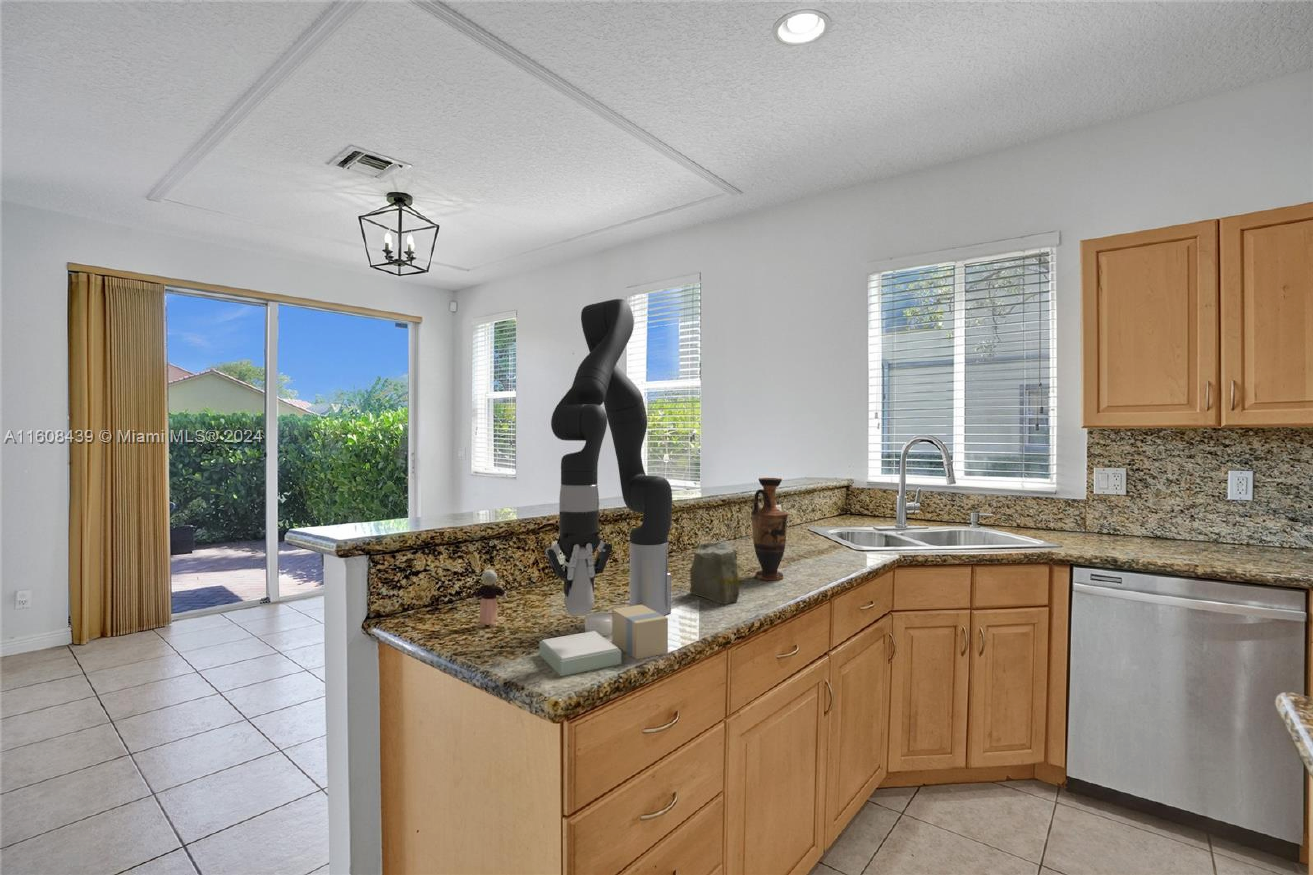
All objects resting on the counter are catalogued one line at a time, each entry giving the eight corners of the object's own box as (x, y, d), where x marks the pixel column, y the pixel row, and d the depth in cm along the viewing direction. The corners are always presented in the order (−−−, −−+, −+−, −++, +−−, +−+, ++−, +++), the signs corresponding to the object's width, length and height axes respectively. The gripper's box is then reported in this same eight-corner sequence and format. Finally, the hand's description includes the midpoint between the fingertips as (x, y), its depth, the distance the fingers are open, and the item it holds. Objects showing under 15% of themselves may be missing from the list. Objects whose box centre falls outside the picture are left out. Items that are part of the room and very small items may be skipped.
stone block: (725, 606, 154) (725, 546, 154) (687, 593, 166) (687, 538, 166) (754, 599, 160) (754, 542, 160) (716, 587, 172) (716, 534, 172)
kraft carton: (642, 637, 130) (642, 604, 130) (668, 653, 121) (668, 617, 121) (612, 643, 127) (611, 609, 127) (636, 660, 117) (636, 623, 117)
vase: (788, 574, 188) (788, 477, 188) (787, 582, 177) (787, 479, 177) (752, 572, 190) (752, 476, 190) (749, 580, 180) (750, 479, 180)
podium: (595, 644, 126) (595, 630, 126) (621, 663, 115) (621, 648, 115) (539, 654, 120) (539, 639, 120) (560, 676, 109) (560, 659, 109)
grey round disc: (589, 625, 137) (588, 612, 137) (616, 626, 137) (616, 613, 136) (581, 636, 131) (581, 623, 131) (611, 637, 130) (610, 624, 130)
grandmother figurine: (473, 630, 135) (472, 572, 135) (471, 625, 138) (471, 569, 138) (508, 626, 138) (508, 570, 138) (506, 621, 141) (506, 566, 141)
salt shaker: (596, 616, 116) (596, 548, 116) (566, 618, 114) (566, 549, 114) (591, 607, 121) (591, 542, 121) (562, 610, 120) (562, 543, 120)
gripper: (604, 503, 124) (604, 588, 124) (537, 507, 117) (537, 597, 117) (620, 507, 118) (620, 597, 118) (550, 512, 111) (550, 607, 111)
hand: (578, 596), depth 118 cm, fingers closed on salt shaker, 3 cm apart
